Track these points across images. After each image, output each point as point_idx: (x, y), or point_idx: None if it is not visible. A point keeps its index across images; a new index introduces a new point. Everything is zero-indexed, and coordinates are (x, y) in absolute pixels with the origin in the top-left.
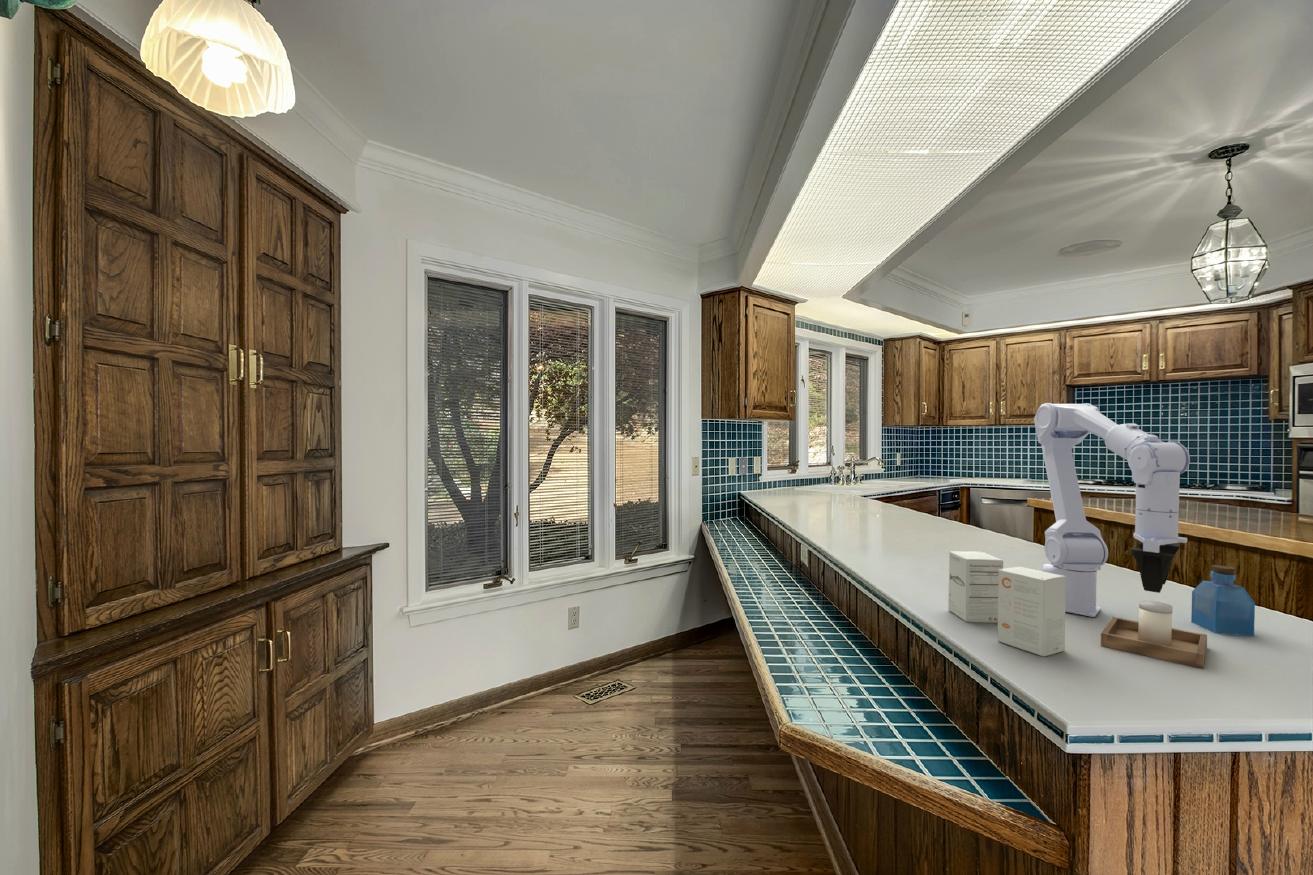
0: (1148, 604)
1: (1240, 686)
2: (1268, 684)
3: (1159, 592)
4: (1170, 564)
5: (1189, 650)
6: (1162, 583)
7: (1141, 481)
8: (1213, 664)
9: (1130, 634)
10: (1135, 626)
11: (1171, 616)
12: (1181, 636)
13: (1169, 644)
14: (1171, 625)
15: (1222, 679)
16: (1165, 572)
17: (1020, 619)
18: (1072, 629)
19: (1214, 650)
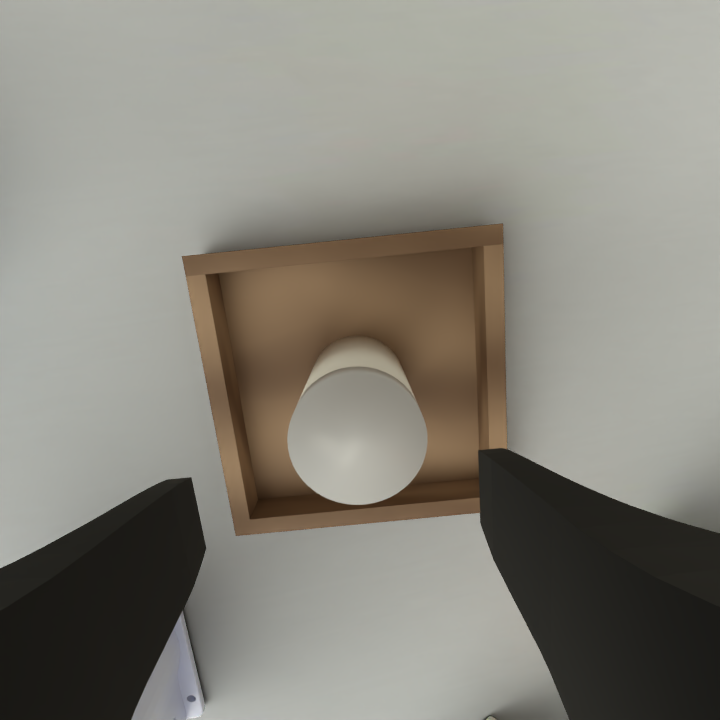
0: (402, 462)
1: (591, 114)
2: (494, 47)
3: (506, 449)
4: (57, 559)
5: (338, 286)
6: (543, 468)
7: None
8: (405, 210)
9: None
10: (244, 461)
11: (364, 363)
12: (223, 329)
13: (371, 340)
14: (360, 352)
15: (558, 166)
16: (631, 508)
17: None
18: (380, 579)
19: (218, 232)
